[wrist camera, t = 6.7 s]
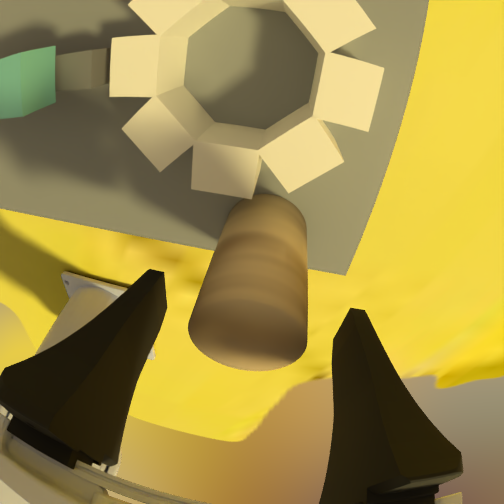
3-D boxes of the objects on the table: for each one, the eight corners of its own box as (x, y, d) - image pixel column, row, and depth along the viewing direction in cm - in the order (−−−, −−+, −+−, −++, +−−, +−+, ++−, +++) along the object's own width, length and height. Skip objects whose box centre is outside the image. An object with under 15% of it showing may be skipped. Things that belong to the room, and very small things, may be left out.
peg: (296, 268, 17) (291, 377, 12) (223, 253, 17) (189, 358, 12) (315, 203, 15) (322, 312, 9) (230, 186, 15) (187, 286, 9)
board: (343, 262, 18) (351, 317, 14) (-17, 196, 19) (-48, 223, 15) (420, -7, 8) (464, -21, 5) (-34, 24, 9) (-75, 36, 5)
